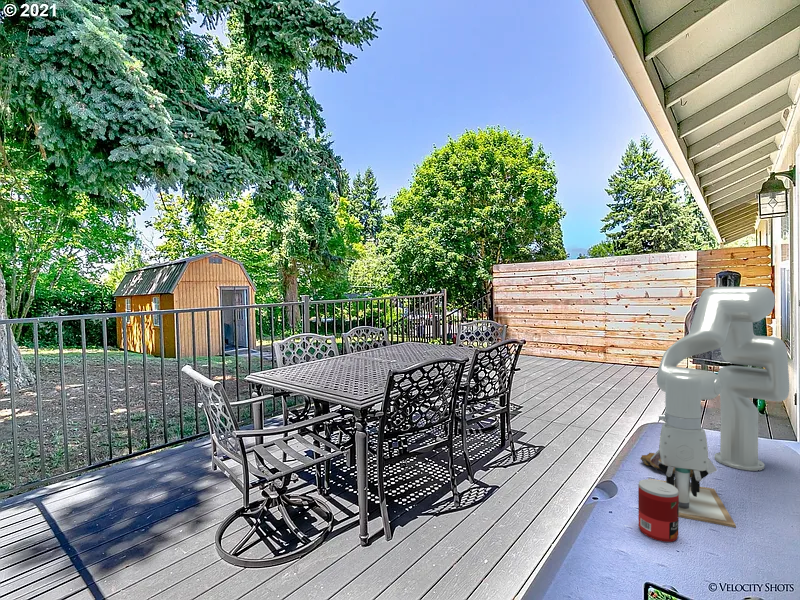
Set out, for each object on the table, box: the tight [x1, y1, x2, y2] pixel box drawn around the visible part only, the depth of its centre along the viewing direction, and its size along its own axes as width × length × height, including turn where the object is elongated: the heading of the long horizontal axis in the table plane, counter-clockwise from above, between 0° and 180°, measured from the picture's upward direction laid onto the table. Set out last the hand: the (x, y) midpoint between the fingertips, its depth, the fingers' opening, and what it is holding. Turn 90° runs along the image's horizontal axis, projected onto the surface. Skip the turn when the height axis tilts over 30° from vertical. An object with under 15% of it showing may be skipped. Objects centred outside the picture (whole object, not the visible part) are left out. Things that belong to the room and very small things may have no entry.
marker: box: [674, 467, 691, 509], centre depth 107 cm, size 3×3×12 cm
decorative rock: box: [639, 452, 693, 478], centre depth 131 cm, size 11×4×15 cm
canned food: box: [637, 478, 680, 543], centre depth 97 cm, size 8×8×11 cm
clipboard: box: [647, 477, 737, 528], centre depth 111 cm, size 20×16×2 cm
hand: (682, 491), depth 106 cm, fingers open, 4 cm apart
